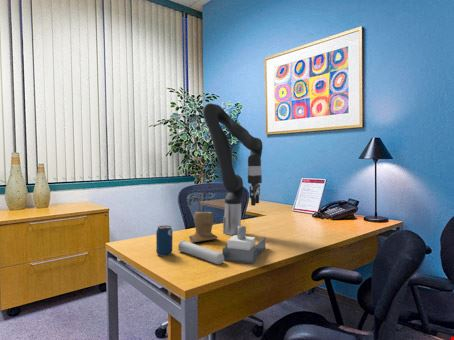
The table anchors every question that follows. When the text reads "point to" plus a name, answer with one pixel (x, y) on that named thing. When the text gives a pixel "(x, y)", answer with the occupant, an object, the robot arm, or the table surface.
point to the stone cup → (203, 227)
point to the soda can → (164, 240)
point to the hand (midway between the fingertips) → (255, 204)
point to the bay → (244, 253)
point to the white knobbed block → (241, 240)
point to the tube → (201, 252)
